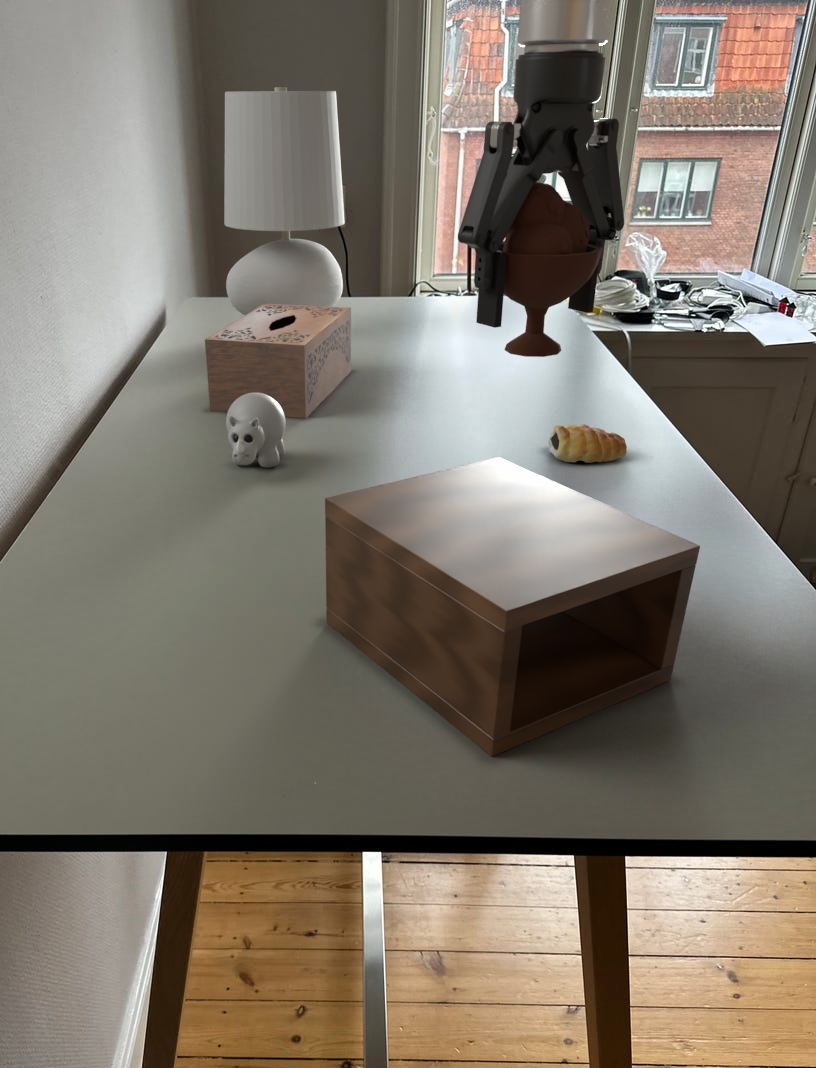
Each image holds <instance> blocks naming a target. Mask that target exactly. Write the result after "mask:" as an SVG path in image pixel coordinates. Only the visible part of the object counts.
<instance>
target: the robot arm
mask: <svg viewBox="0 0 816 1068" xmlns="http://www.w3.org/2000/svg"><path fill="white" fill-rule="evenodd" d="M612 6H613V0H520V4H519V16H518V17H519V18H518V31H517V44H518V46H519V47H520V48H521V47H522V48H523V54H519V55H518V58H516V59H515V66H514V67H515V68H514V69H515V70H514V82H513V94H512V95H513V96H512V97H513V101H514V102H515V103H516V105H517V111H516V116H515V119H514V120H513V122H512V121H492V120H491V121H489V122H487V124H486V125H485V129H484V141H483V142H484V143H483V153H482V155H481V159H480V162H479V166H478V169H477V172H476V176H475V178H474V182H473V184H472V188H471V191H470V194H469V197H468V200H467V204H466V207H465V211H464V214H463V217H462V220H461V223H460V226H459V230H458V232H457V240H458V242H459V243H460V244H465V245H467V246H468V247H469V249H474V252H475V257H474V259H475V260H474V277H473V283H474V287H475V288H476V289H478V291H477V309H476V324H480V325H484V326H488V327H491V328H502V320H503V306H504V295H505V294H504V282H505V269H506V256H507V252H504V251H498V249H499V248H500V246H501V244H502V242H503V241H505V239H506V238H505V237H506V235H507V233H508V231H509V229H510V227H511V225H512V223H513V221H514V219H515V218H516V216H517V214H518V212H519V210H520V208H521V206H522V204H523V202H524V200H525V199H526V197H527V195H528V193H529V191H530V189H531V187H532V185H533V184H534V183H535V182H539V180H540V179H541V178H542V176H543V175H546V174H547V175H548V174H552V173H557V174H558V175H559V177H561V178H562V179H563V182H564V185H565V187H566V190H567V193H568V196H569V198H570V201H571V204H572V205H574V206H575V207H576V208H577V209H578V210H579V211H580V212H581V213H582V214H583V215H584V217H585V218H586V219H587V220H588V221H589V223H590V226H589V241H588V243H589V244H593V245H596V246H600V247H602V248H603V250H602V253H601V256H600V259H599V263H598V265H597V267H596V269H595V271H594V272H593V274H592V276H591V278H590V279H589V280H588V281H587V282H586V283H585V284H584V285H583V286H582V287H581V288H580V289H579V290H578V291H577V292H575V293H574V294H573V295H572V296H570V297H569V298H568V304H567V309H569V310H574V311H577V312H582V313H586V314H588V313H594V306H595V298H596V297H595V296H596V290H597V282H598V275H600V274H601V271H602V267H603V260H604V254H605V253H604V252H605V244H606V241H613V240H614V239H615V237H616V235H617V232H620V231H622V230H623V228H624V226H625V216H624V207H623V197H622V196H623V195H622V188H621V187H622V186H621V177H620V169H619V159H618V158H619V157H618V150H617V144H618V136H619V127H620V122H619V120H618V119H617V118H609V117H608V118H605V117H604V118H601V117H598V118H597V117H595V118H594V112H593V111H594V110H593V109H594V105H595V103H597V102H599V100H601V98H602V93H603V92H602V91H603V82H604V74H605V67H606V57H605V56H604V53H603V52H601V46H603V45H606V43H608V41H609V34H610V27H611V26H610V24H611V15H612ZM514 148H516V150H515V151H514ZM513 151H514V153H513Z"/></svg>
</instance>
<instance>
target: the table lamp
mask: <svg viewBox="0 0 816 1068" xmlns="http://www.w3.org/2000/svg"><path fill="white" fill-rule="evenodd" d="M273 90H274V91H273ZM273 90H271V91H270V90H268V91H267V90H265V91H259V90H257V91H225V92H224V195H223V196H224V206H223V207H224V208H223V209H224V210H223V212H224V216H223V217H224V219H223V220H224V221H223V222H224V226H225V227H228V228H231V229H237V230H245V231H246V230H247V231H258V232H259V231H263V232H281V238H280V239H278V240H273V241H270V242H266V243H264V244H262V245H260V246H258V247H256V248H254V249H253V250H252V251H250V252H248V253H246V255H244V256H243V257H241V258H239V260H238V261H237V262H235V263H234V265H233V266H232V267H231V268H230V270H229V271H228V274H227V277H226V281H225V288H226V295H227V297H228V300H229V302H230V304H231V306H232V307H233V308H234V309H235V310H236V311H237V312H239V313H240V314H242V315H243V316H245V315H246V314H248V313H250V312H251V311H253V310H255V309H256V308H258V307H260V306H261V305H263V304H284V305H305V306H325V307H335V305H337V303H338V302H339V301H340V299H341V297H342V294H343V289H344V283H343V282H344V281H343V273H342V269H341V266H340V265H339V263H338V261H337V260H336V258H335V256H334V255H333V254H332V252H331V251H330V250H329V249H328V248H327V247H325V246H324V245H322V244H320V243H318V242H315V241H313V240H308V239H304V238H303V239H302V238H291V232H295V231H296V232H297V231H299V232H300V231H314V230H325V229H332V228H337V227H341V226H344V225H345V223H346V222H345V206H344V205H345V204H344V193H343V177H342V175H343V174H342V163H341V146H340V133H339V132H340V130H339V117H338V103H337V102H338V101H337V91H336V90H291V91H290V90H288V87H287V86H284V87H281V86H280V87H279V86H277V87H274V89H273Z"/></svg>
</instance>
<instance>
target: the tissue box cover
mask: <svg viewBox="0 0 816 1068" xmlns="http://www.w3.org/2000/svg"><path fill="white" fill-rule="evenodd" d="M204 349H205V360H206V361H205V362H206V372H207V373H206V375H207V387H208V400H209V411H210V412H222V413H228V410H229V408H230V406H231V405H232V404H233V402H234V401H235V400H236V399H238V398H239V397H241V396H242V395H245V394H248V393H263V394H266V395H268V396H270V397H272V398H273V399H274V400H275V401H277V403H278V404H279V405H280V406H281V408H282V410H283V412H284V415H285V418H299V419H307V418H309V416H310V415H311V414H312V413H313V412H314V411H315V410H316V409H317V408H318V407H319V406H320V404H322V402H323V401H325V400H326V398H327V397H328V396H329V395H330V394H331V393H332V392H333V391H334V390H335V389H336V388H337V387H338V386H339V384H340V383H341V382H342V381H344V379H345V378H346V377H347V376H348V375H349V374H350V373H351V372H352V307H344V306H343V307H341V306H333V307H325V306H305V305H284V304H263V305H261V306H260V307H258V308H256V309H255V310H253V311H251V312H250V313H248V314H246V315H243V316H241V317H239V318H238V319H236V320H235V321H233V322H231V323H230V324H228V325H226V326H225V327H223V328H222V329H219V330H218V331H216V332H215V333H213V334H212V335H209V336H208V337H206V338H205V339H204Z"/></svg>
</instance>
